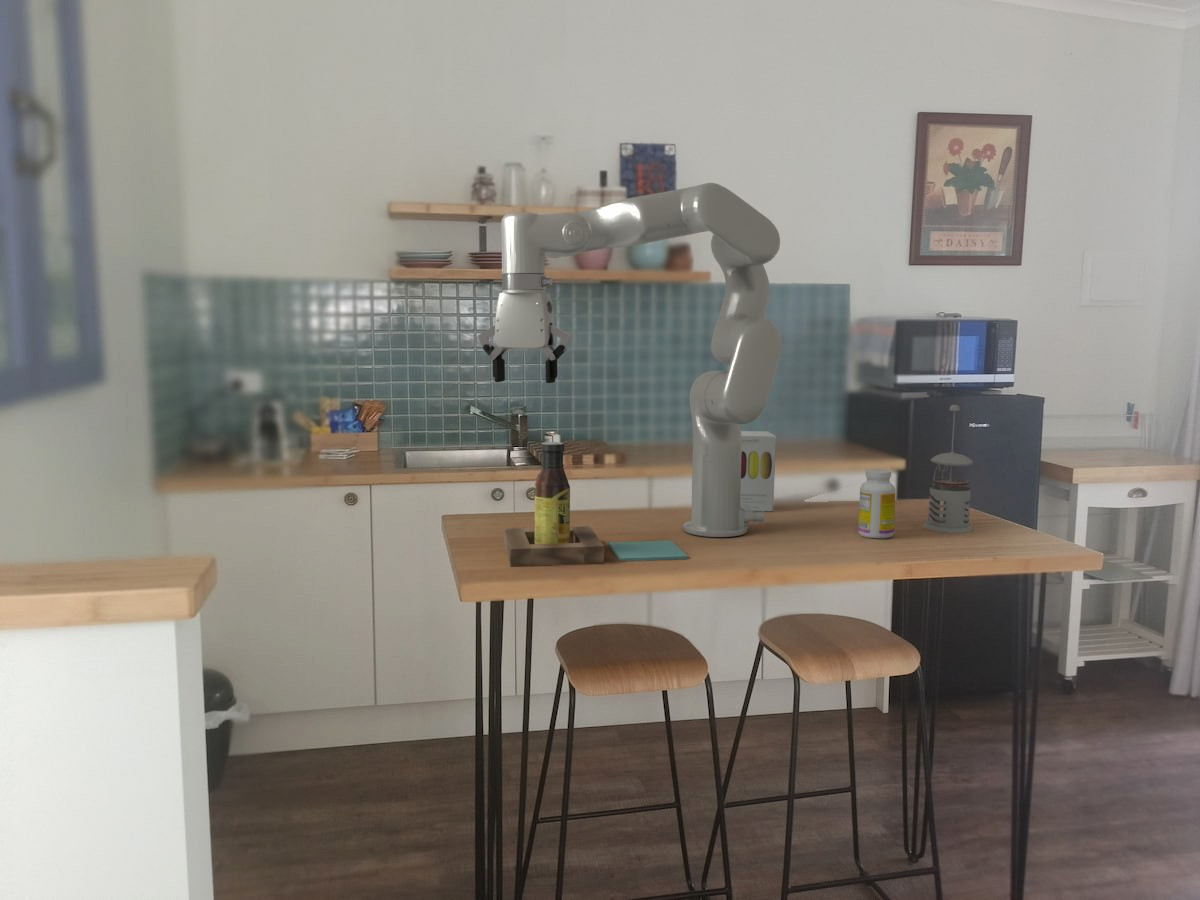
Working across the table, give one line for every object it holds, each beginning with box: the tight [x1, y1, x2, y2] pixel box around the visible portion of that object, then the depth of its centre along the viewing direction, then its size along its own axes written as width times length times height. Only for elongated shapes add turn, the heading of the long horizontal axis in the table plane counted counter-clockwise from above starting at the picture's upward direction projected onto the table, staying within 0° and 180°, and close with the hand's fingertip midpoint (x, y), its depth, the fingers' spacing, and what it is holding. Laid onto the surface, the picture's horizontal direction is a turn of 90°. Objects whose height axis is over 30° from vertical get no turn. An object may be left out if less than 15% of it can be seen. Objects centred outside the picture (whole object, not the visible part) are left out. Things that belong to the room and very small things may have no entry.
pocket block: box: [503, 525, 605, 567], centre depth 174 cm, size 16×16×3 cm
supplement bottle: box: [858, 468, 897, 540], centre depth 190 cm, size 7×7×13 cm
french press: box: [921, 404, 974, 534], centre depth 198 cm, size 10×12×25 cm
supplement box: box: [740, 430, 777, 513], centre depth 216 cm, size 10×9×17 cm
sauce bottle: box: [534, 441, 571, 544], centre depth 173 cm, size 6×6×20 cm
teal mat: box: [607, 540, 689, 562], centre depth 176 cm, size 12×12×1 cm
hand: (525, 382), depth 175 cm, fingers open, 9 cm apart
